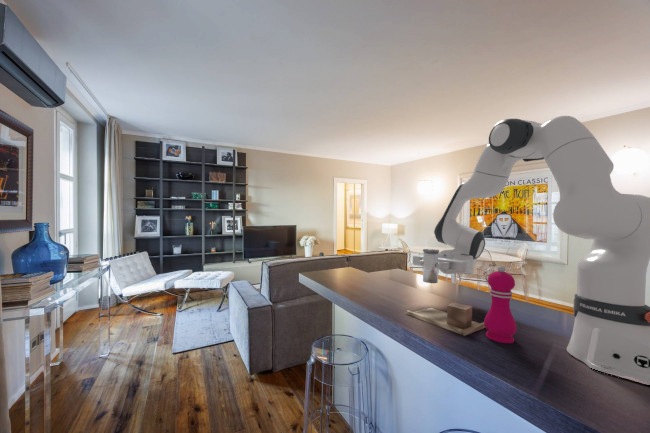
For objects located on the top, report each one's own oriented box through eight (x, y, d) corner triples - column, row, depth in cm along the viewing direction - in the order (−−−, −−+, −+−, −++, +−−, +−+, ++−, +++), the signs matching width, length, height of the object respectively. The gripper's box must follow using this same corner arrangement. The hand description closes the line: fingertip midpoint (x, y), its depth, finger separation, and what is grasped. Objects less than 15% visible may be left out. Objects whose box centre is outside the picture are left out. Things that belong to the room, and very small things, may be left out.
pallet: (488, 330, 80) (488, 322, 80) (464, 340, 73) (464, 331, 73) (430, 311, 96) (430, 304, 96) (406, 317, 88) (406, 310, 88)
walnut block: (471, 327, 79) (472, 306, 79) (465, 332, 75) (466, 310, 75) (453, 322, 82) (454, 302, 82) (446, 326, 79) (447, 305, 79)
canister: (441, 282, 94) (442, 250, 95) (432, 284, 91) (433, 250, 92) (428, 279, 99) (429, 248, 99) (419, 281, 96) (419, 249, 96)
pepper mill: (485, 334, 77) (486, 262, 77) (516, 341, 73) (518, 265, 73) (482, 343, 71) (484, 265, 72) (516, 351, 67) (518, 269, 67)
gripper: (423, 250, 111) (403, 252, 103) (477, 256, 96) (459, 258, 87) (423, 266, 111) (403, 269, 102) (477, 274, 95) (458, 278, 87)
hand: (429, 264), depth 94 cm, fingers closed on canister, 5 cm apart
